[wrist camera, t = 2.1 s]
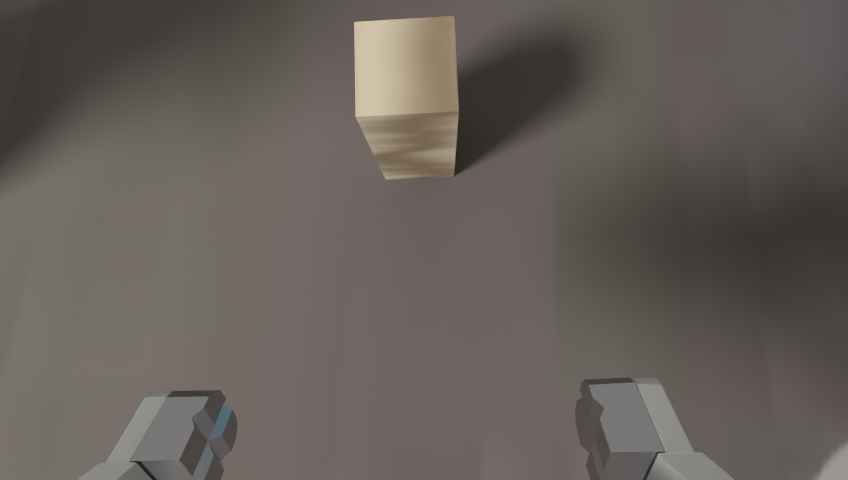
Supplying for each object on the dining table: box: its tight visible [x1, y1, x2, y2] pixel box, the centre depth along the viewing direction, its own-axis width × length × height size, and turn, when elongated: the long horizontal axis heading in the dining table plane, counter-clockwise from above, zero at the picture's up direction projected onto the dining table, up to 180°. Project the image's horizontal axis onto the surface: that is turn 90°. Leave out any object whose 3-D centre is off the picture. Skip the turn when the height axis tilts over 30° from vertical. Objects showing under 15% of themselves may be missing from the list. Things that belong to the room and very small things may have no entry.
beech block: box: [354, 16, 459, 180], centre depth 25 cm, size 4×4×10 cm
